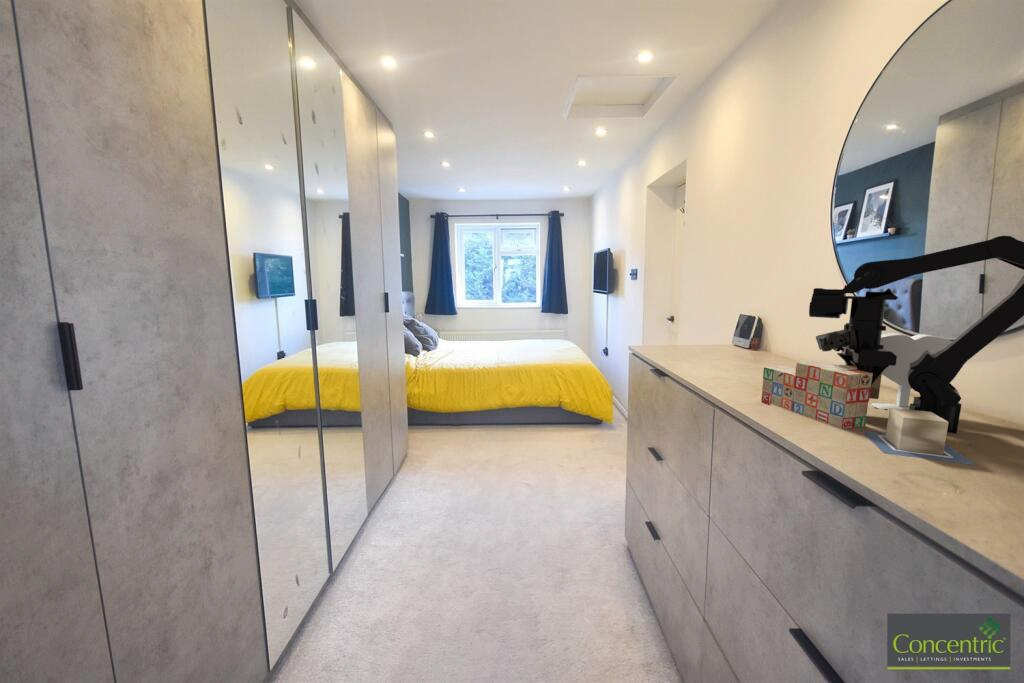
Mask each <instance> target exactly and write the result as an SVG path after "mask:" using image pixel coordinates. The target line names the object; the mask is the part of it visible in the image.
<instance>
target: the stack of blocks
mask: <svg viewBox="0 0 1024 683" xmlns="http://www.w3.org/2000/svg"><path fill="white" fill-rule="evenodd" d="M872 375H873V373H869V372H864V371H860V370H857V369H855V368H850V367H845V366H839V365H837V364H833V363H829V362H824V361H819V360H817V361H815V360H814V361H799V362H796V365H795V368H794V367H789V366H787V365H785V366H784V365H778V366H764V367H763V374H762V379H763V380H762V389H761V391H762V393H761V403H763V402H764V403H763V404H766V403H767V404H766V405H769V404H770V405H774V406H778V407H780V408H782V409H783V408H784V409H786V410H789V411H792V412H795V413H797V414H799V415H804V416H806V417H809V418H811V419H815V420H817V421H820V422H822V423H826V424H827V425H829V426H833V427H836V428H839V429H842V430H843V429H849V428H850V429H851V428H862V427H866V422H867V414H868V409H869V407H868V403H870V402H869V401H870V391H871V382H872Z"/></svg>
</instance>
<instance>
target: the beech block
mask: <svg viewBox="0 0 1024 683" xmlns="http://www.w3.org/2000/svg"><path fill="white" fill-rule="evenodd" d="M888 411H889V412H888V419H887V425H886V430H885V431H886V432H885V434H886V439H887V440H888V441H890V442H891V443H892V444H893V445H894V446H895V447H897V448H898V449H899V450H907V451H915V452H922V453H930V454H938V455H943V454H944V447H945V444H946V440H947V434H948V433H947V429H948V421H946V420H944V419H942V418H941V417H939V416H937V415H936V414H934V413H932V412H926V411H916V410H906V409H895V408H890V409H889V410H888Z"/></svg>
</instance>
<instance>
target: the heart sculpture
mask: <svg viewBox="0 0 1024 683" xmlns="http://www.w3.org/2000/svg"><path fill="white" fill-rule="evenodd" d="M953 341H954V340H950V339H946V338H943V337H940V336H936V335H931V334H925V333H923V334H922V333H920V334H915V335H913V336H908V335H905V334H901V333H897V332H891V333H888V332H887V333H882V334H881V341H880V344H882V345H884V347H883V349H886V350H889V351H891V352H893V353H894V354H895V355H896V356H897V359H896V365H895V366H891V365H889V367H887V368H886V369H885V370H884V371H883V372H882V377H884V378H887V379H888V380H890V381H892V382H894V383H895V384H897V385H898V388H897V395H896V402H895V403H893V404H892V403H878V402H871V403H872V404H871V405H873V406H875V407H877V408H886V409H890V408H895V409H906V410H909V407H910V396H911V390H912V388H911V387H910V385H909V383H908V371H909V369H910V363H912V362H915V361H916V360H918V359H919V358H920V356H921V355H922V354H923V353H924V352H925V351H926V350H927V351H929V352H930V353H931V354H932V355H933V354H935V353H937V352H939V351H941V350H943V349H944V348H946V347H947V346H948V345H949V344H950V343H952V342H953Z"/></svg>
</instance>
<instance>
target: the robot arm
mask: <svg viewBox="0 0 1024 683" xmlns="http://www.w3.org/2000/svg"><path fill="white" fill-rule="evenodd" d="M992 259H996V260H999V261H1001V262H1004V263H1006V264H1008V265H1011V266H1012V267H1015V268H1018V269H1020V270H1023V271H1024V241H1022V240H1020V239H1019V240H1018V239H1016V238H1015V237H1013V236H1011V235H999V236H995V237H993V238H991V239H988V240H983V241H979V242H975V243H974V242H973V243H970V244H965V245H961V246H957V247H953V248H949V249H944V250H939V251H935V252H931V253H927V254H922V255H919V256H914V257H908V258H898V259H897V258H896V259H889V260H888V259H887V260H876V261H875V260H874V261H868V262H865V263H862V264H861V265H859V266H858V267H857V268H856V270H855V271H854V274H853V279H852V280H851V281H850V282H848V284H846V285H844V286H843V288H842V289H841V288H840V289H838V288H831V289H830V288H821V287H814V288H813V292H812V296H811V300H810V302H809V308H808V315H809V316H808V317H809V318H823V319H824V318H827V319H840V318H841V316H842V314H843V315H847V313H848V308H849V300H851V303H850V310H849V311H850V312H849V313H850V314H849V320H848V322H846V323H845V324H844V325H843V329H840V330H835V331H831V332H826V333H823V334H819V335H815V340H816V342H817V345H818V346H817V347H818V348H819V350H821V351H822V352H831V351H832V350H833V351H834V352H837V353H836V355H837V356H838V357H840V359H842V360H843V361H844V363H845V364H844V365H852V366H855V367H856V368H857V370H860V371H864V372H869V373H873V375H872V382H871V385H872V384H873V383H874V381H875V380H876V379H877V378H878V376H879V375H880V374H881V373H882V372H883V371H884V370H885V369H886V368H887V367H889V365H891V366H895V365H896V359H897V356H896V355H895V354H894V353H893V352H891V351H889V350H886V349H883V347H884V345H882V344H880V341H881V334H883V333H882V332H886V330H887V326H886V325H884V317H885V309H886V303H887V300H888V301H896V300H898V299H899V296H897V295H896V294H895V293H894V292H893V291H892V289H891V288H887V289H885V291H866V292H865V295H863V296H861V295H847V294H855V293H858V292H860V291H862V290H864V289H865V290H871V289H876V288H877V289H878V288H881V287H883V286H886V285H888V284H893V283H895V282H897V281H901V280H903V279H907V278H910V277H913V276H916V275H920V274H923V273H930V272H935V271H939V270H944V269H948V268H954V267H958V266H959V267H960V266H963V265H967V264H973V263H978V262H982V261H987V260H992ZM1023 317H1024V275H1022V277H1021V278H1020V279H1019V281H1018V282H1017V283H1016V284H1015V286H1014V288H1013V289H1012V290H1011V292H1010V293H1009V294H1008V295H1006V297H1004V298H1003V299H1001V301H999V302H998V303H997V304H996V305H995V306H993V307H992V308H991V309H990V310H989V311H988V312H986V313H985V314H984V315H983V316H982V317H981V318H979V319H978V320H977V321H975V322H974V323H973V324H972V325H971V326H969V328H967V329H966V330H965V331H964V332H962V333H961V334H960V335H959V336H957V337H956V338H955V339H954V340H952V341H953V342H952V343H950V344H949V345H948V346H947V347H946V348H944V349H943V350H941V351H939V352H937V353H935V354H933V355H932V354H931V353H930V352H929V351H927V350H926V351H925V352H924V353H923V354H922V355H921V356H920V358H919V359H918V360H916V361H915V362H912V363H910V369H909V371H908V383H909V385H910V387H911V390H913V391H914V392H917V393H918V394H919V396H913V402H912V403H909V406H910V407H909V410H916V411H926V412H932V413H934V414H936V415H937V416H939V417H941V418H942V419H944V420H946V421H948V429H947V434H956V435H957V434H958V435H962V432H960V431H959V430H958V429H959V422H960V415H961V410H962V409H961V408H962V405H963V404H962V403H960V401H961V400H962V397H961V395H960V392H959V391H958V389H957V388H956V387H955V386H954V385H953V384H952V381H953V380H954V379H955V378H956V376H958V374H959V372H960V370H962V368H963V367H964V365H965V364H966V363H967V362H968V361H969V360H970V359H971V358H973V357H974V356H975V355H977V354H978V353H979V352H980V351H982V350H983V349H984V348H985V347H987V346H988V345H990V343H992V342H993V341H994V340H995V339H997V338H998V337H999V336H1000V335H1002V334H1003V333H1004V332H1005V331H1007V330H1008V329H1009V328H1011V327H1012V326H1013V325H1014V324H1016V323H1017V322H1018V321H1019V320H1021V319H1022V318H1023Z"/></svg>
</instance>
